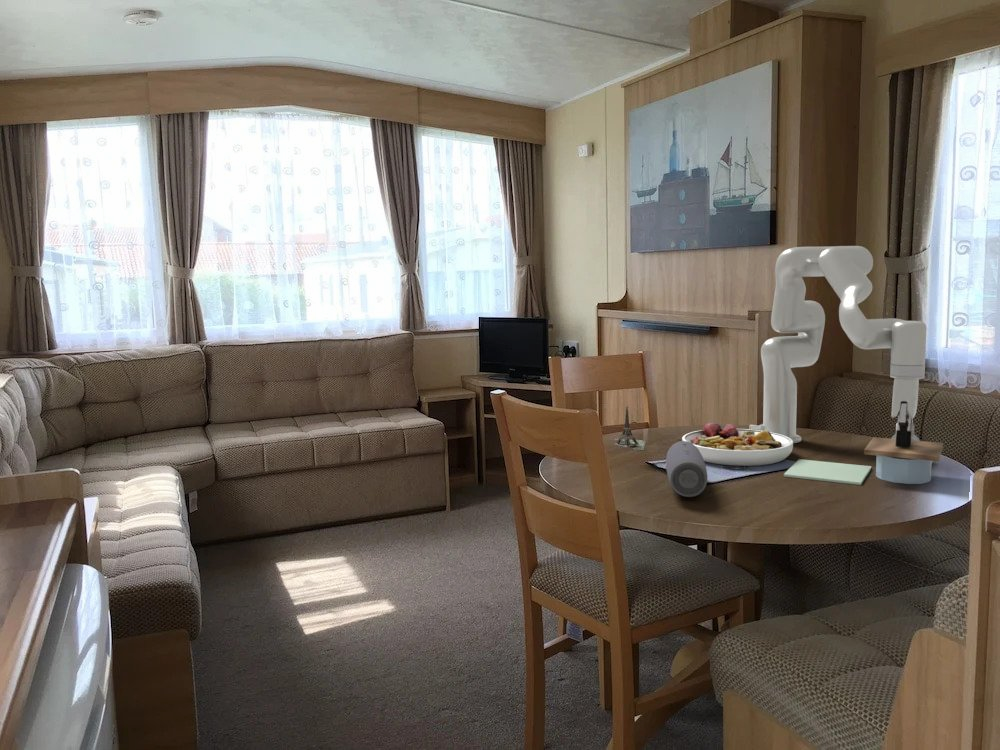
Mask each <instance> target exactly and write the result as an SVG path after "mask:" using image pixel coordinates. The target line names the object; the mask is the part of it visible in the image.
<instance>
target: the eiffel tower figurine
mask: <svg viewBox="0 0 1000 750" xmlns="http://www.w3.org/2000/svg"><path fill="white" fill-rule="evenodd" d="M624 421H625V422H624V427H623V429H622V430H623V431H622V434H620V437H618V438H614V441H616V442H615V443H614V445H617V446H621V447H625V448H628V447H629V448H631V447H633V448H632V449H633V450H634V451H637V450H638V451H642V450H643V451H644V450H645V447H646V440H641V439H636V438H635V436H634V434H633V433H632V430H631V427H630V426H631V425H630V419H629V405H626V406H625V420H624ZM621 441H622V442H621ZM634 446H635V447H634Z"/></svg>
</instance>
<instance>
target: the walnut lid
mask: <svg viewBox="0 0 1000 750" xmlns="http://www.w3.org/2000/svg"><path fill="white" fill-rule="evenodd" d="M897 425H898V422H896V424H895V432H896V431H897ZM910 431H911V446H910V447H909V448H908V447H897V446H896V439H891V438H888V437H887V438H886V437H874V436H873V437H872V438H871V440H870V441H869V443H868V444H867V445H866V447H865V448H864V450H863V455H866V456H867V455H868V456H887V457H898V458H909V459H919V460H930V461H933V462H939V461H940V458H941V455H942V452H943V449H944V443H943V442H938V441H937V442H936V441H926V440H925V441H923V440H920V441H914V435H915V423H914V422H913V423H910Z"/></svg>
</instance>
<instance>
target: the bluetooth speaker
mask: <svg viewBox="0 0 1000 750" xmlns="http://www.w3.org/2000/svg"><path fill="white" fill-rule="evenodd" d="M665 469H666V473H667V478H668V481H669V484H670V486H671V488H672V489H673V491H675V493H677V495H679V496H681V497H687V498H692V497H697V496H698V495H700V494H701V493H703V491H704V490H705V489H706V487H707V483H708V472H707V471H708V470H707V467H706V462H705V461H704V459H703V457H702V455H701V453H700V451H699V450H698V448H697V447H696V446H695V445H693V444H692V443H690V442H687V441H682V440H681V441H680V440H679V441H677V442H675V443H673V444H672V445H671V446H670V447H669V448H668V451H667V453H666V456H665Z"/></svg>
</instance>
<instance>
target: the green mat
mask: <svg viewBox="0 0 1000 750" xmlns="http://www.w3.org/2000/svg"><path fill="white" fill-rule="evenodd" d="M871 470H872V466H871V465H862V464H861V465H860V464H852V463H842V462H841V463H840V462H832V461H820V460H810V459H803V458H802V459H800V458H798V459H797V461H795V463H794V464H792V465H791V466H790V468H788V469H787V470H786V471H785V472H784V473H783V477H785V478H794V479H803V480H811V481H812V480H813V481H820V482H821V481H822V482H829V483H830V482H832V483H838V484H839V483H840V484H849V485H857V486H862V484H863V482H864V481H865V479H866V478H867V476H868V475H869V473H870V471H871Z"/></svg>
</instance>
